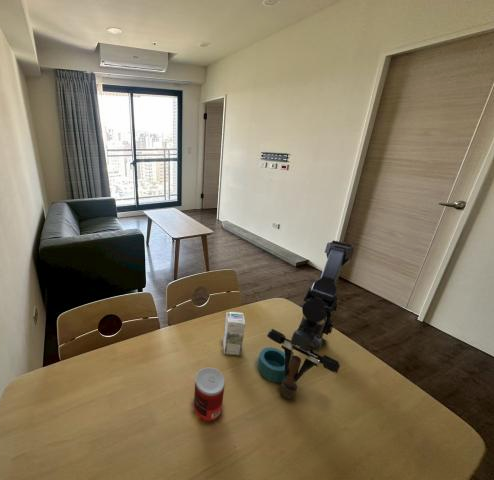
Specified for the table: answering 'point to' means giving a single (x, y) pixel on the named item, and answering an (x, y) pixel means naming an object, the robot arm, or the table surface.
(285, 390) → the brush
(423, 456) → the table surface
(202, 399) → the canned food
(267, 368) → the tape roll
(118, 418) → the table surface
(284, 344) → the robot arm
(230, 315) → the syrup box
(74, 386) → the table surface
